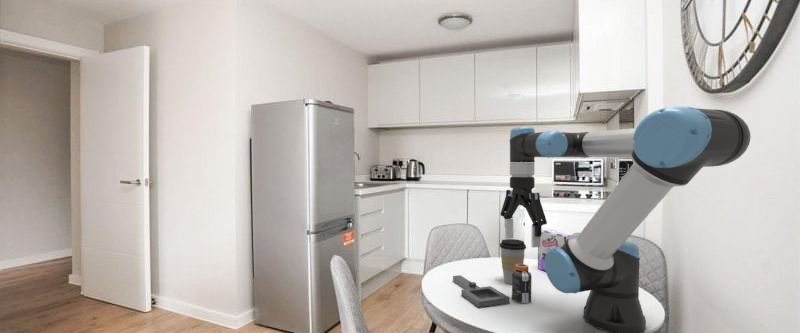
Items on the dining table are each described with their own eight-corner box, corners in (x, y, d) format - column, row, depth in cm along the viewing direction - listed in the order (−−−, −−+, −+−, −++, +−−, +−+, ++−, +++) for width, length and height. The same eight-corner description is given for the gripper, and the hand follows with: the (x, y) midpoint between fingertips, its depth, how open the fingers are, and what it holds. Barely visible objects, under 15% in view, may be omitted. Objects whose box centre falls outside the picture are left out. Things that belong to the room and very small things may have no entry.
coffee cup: (496, 283, 137) (496, 242, 137) (502, 276, 146) (502, 237, 145) (523, 287, 133) (523, 245, 133) (528, 280, 141) (528, 240, 141)
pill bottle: (532, 304, 118) (532, 268, 118) (512, 302, 119) (513, 267, 119) (529, 297, 124) (530, 263, 124) (511, 296, 125) (511, 262, 125)
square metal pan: (509, 303, 118) (509, 294, 118) (478, 308, 115) (478, 299, 115) (469, 279, 142) (469, 272, 142) (443, 282, 139) (443, 274, 138)
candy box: (536, 269, 156) (537, 229, 155) (547, 267, 158) (548, 228, 158) (564, 278, 143) (564, 235, 143) (575, 276, 146) (575, 234, 145)
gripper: (559, 177, 110) (559, 250, 111) (508, 174, 134) (508, 234, 134) (538, 177, 108) (538, 252, 108) (490, 174, 132) (490, 235, 132)
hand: (521, 242), depth 121 cm, fingers open, 13 cm apart
